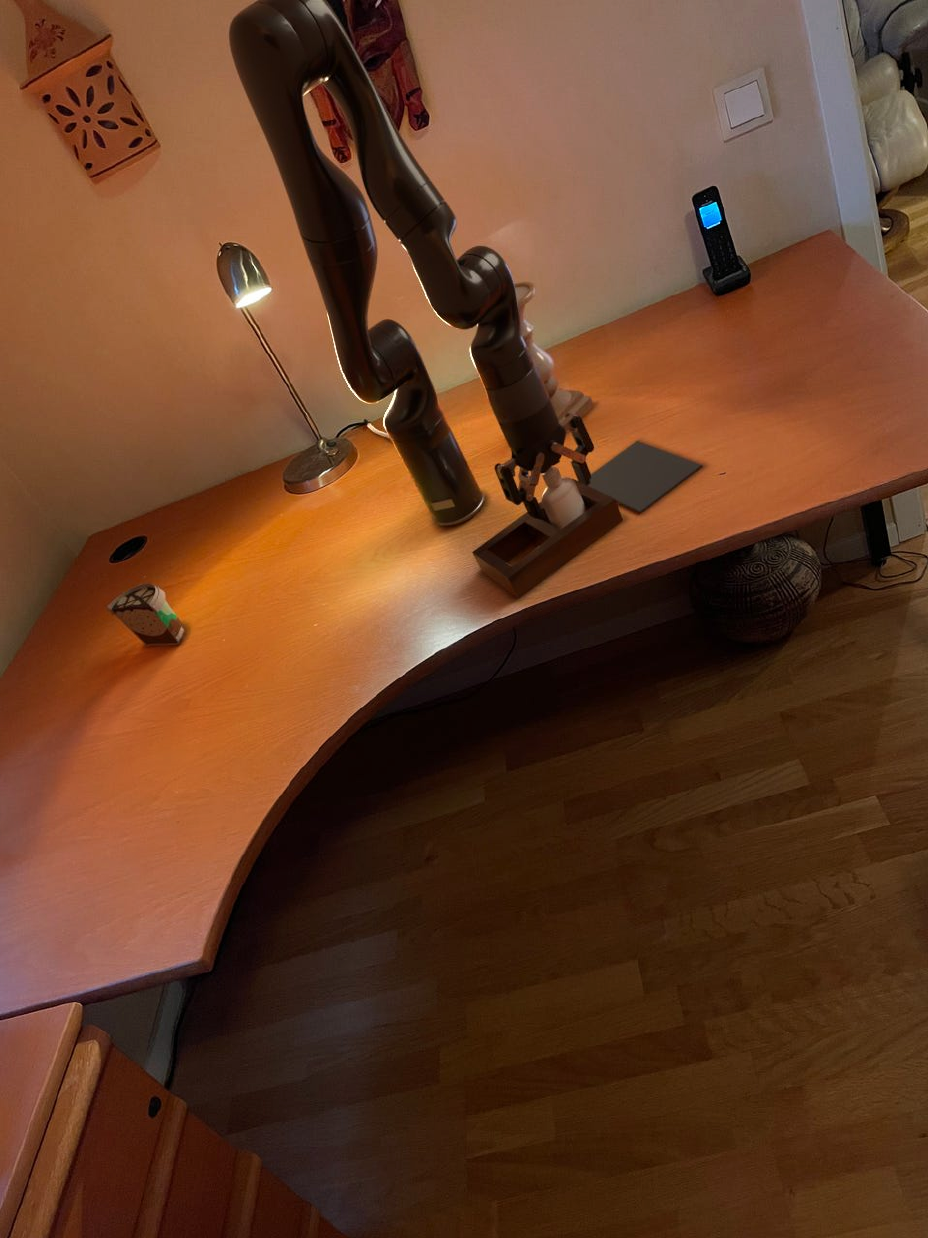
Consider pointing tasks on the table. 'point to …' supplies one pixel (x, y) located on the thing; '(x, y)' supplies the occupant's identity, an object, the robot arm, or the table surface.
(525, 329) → the candle holder
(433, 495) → the robot arm
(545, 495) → the eye dropper bottle
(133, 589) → the food container
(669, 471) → the mat
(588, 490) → the rack
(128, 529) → the table surface
